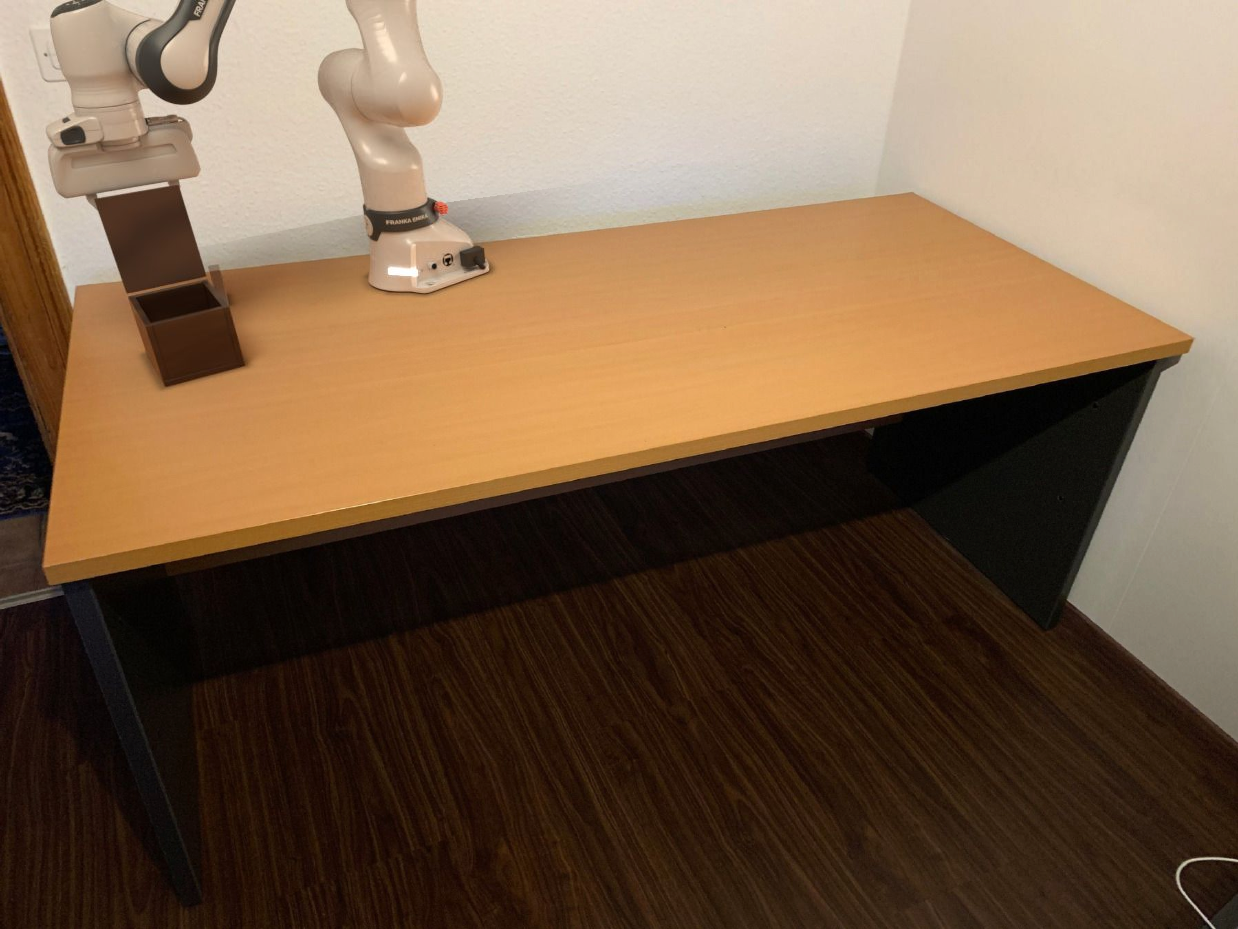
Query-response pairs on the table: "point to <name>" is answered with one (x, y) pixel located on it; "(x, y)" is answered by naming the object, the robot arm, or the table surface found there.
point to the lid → (151, 238)
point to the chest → (187, 331)
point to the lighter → (218, 281)
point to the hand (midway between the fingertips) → (141, 215)
